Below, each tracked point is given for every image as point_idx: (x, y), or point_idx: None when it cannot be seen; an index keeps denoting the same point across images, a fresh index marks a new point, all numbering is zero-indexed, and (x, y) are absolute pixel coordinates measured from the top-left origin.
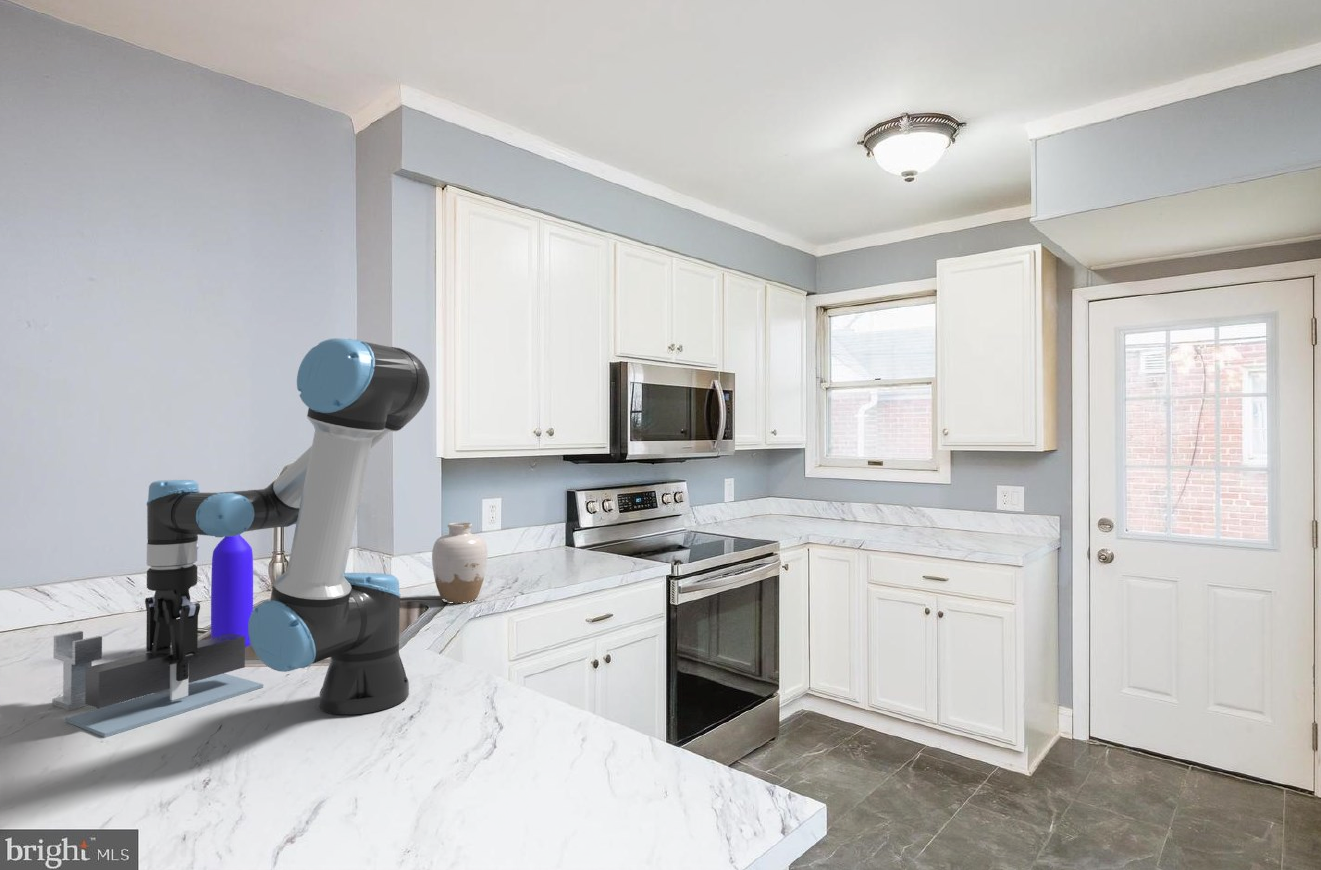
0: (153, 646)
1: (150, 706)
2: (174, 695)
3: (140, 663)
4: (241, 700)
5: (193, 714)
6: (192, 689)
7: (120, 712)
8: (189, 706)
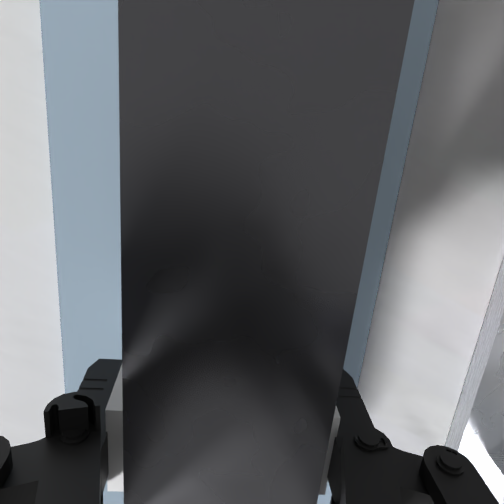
0: (388, 488)
1: None
2: None
3: (124, 254)
4: (4, 432)
5: (3, 279)
6: None
7: None
8: (68, 306)
